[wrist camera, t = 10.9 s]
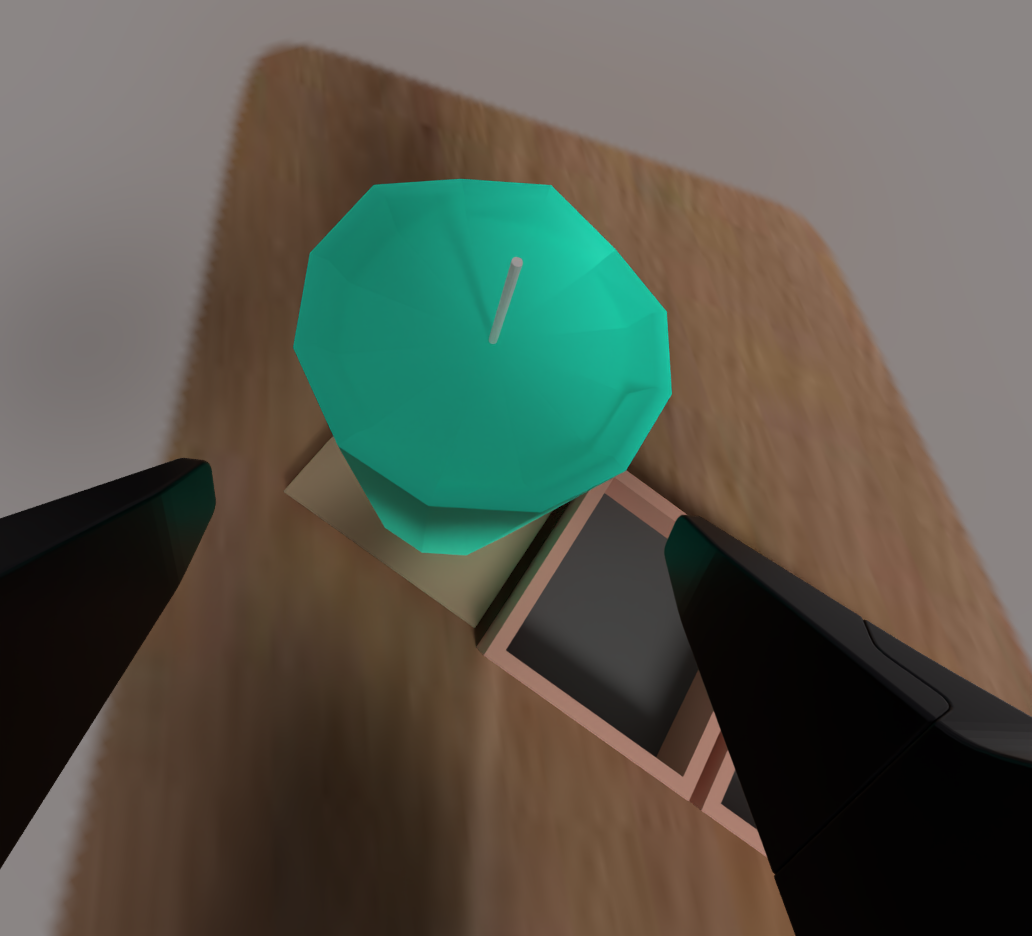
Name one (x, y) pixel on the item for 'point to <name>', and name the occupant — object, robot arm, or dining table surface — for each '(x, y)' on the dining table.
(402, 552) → the pad
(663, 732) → the tray
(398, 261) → the candle
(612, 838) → the dining table surface
